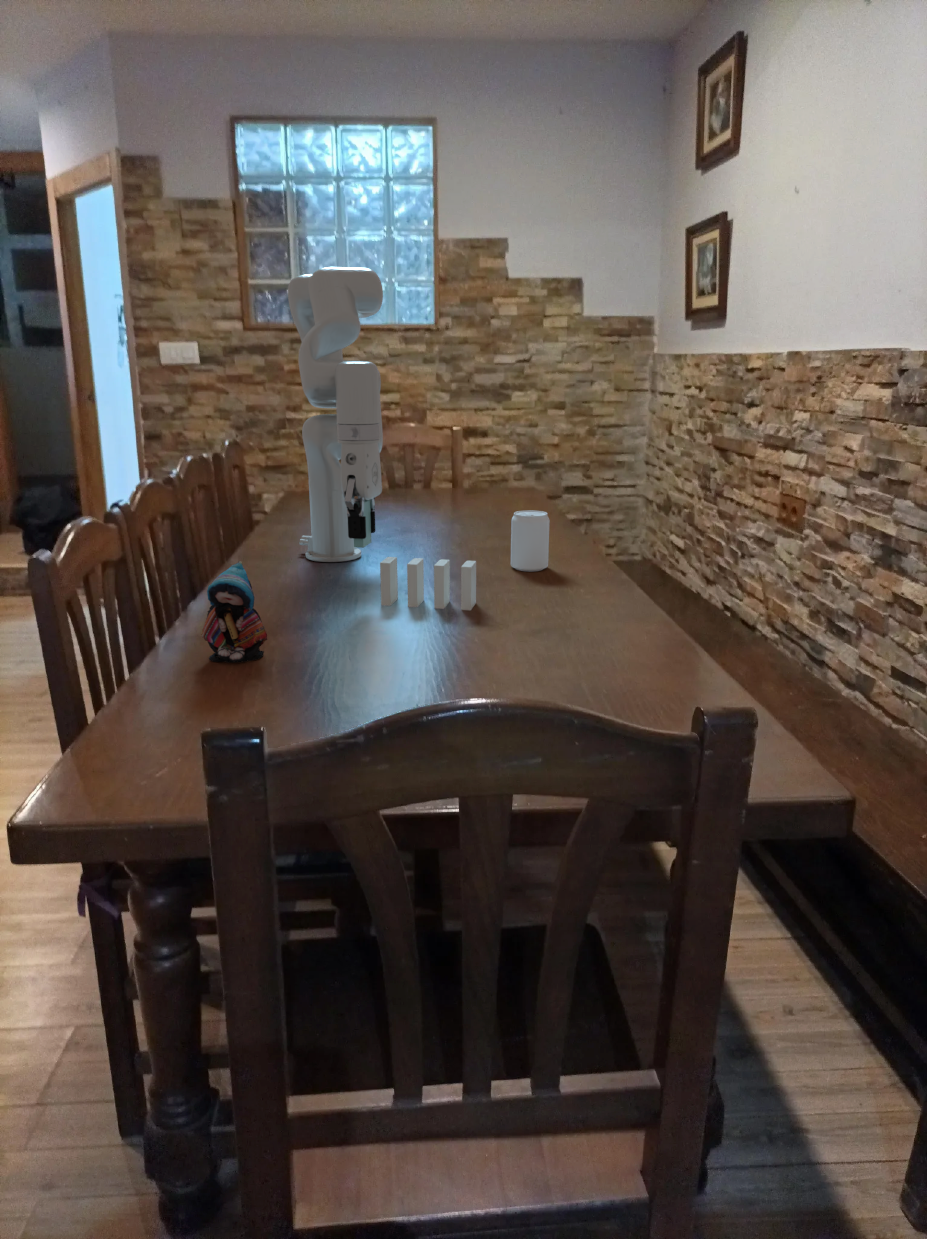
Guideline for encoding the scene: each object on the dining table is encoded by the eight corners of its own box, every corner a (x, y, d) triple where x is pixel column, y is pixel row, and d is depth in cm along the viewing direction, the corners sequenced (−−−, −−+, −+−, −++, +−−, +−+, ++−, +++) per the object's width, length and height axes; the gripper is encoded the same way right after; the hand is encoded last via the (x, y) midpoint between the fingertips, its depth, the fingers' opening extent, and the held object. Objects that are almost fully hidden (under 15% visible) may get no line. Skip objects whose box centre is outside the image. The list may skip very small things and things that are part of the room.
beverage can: (545, 573, 183) (547, 517, 179) (507, 571, 184) (508, 515, 181) (549, 564, 190) (551, 510, 187) (513, 563, 192) (514, 509, 188)
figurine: (196, 668, 127) (187, 568, 122) (210, 652, 133) (202, 557, 129) (264, 669, 126) (257, 569, 122) (275, 653, 133) (269, 558, 129)
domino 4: (434, 608, 157) (434, 565, 155) (440, 600, 162) (440, 559, 160) (444, 608, 157) (443, 565, 155) (449, 601, 162) (449, 559, 159)
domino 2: (381, 605, 159) (380, 562, 157) (388, 598, 164) (387, 556, 161) (390, 605, 159) (389, 563, 156) (397, 598, 163) (397, 557, 161)
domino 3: (407, 606, 158) (407, 564, 156) (414, 599, 163) (413, 558, 160) (417, 607, 158) (416, 564, 155) (423, 600, 162) (423, 558, 160)
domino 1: (353, 547, 157) (352, 503, 154) (362, 542, 161) (360, 499, 159) (363, 547, 156) (361, 503, 154) (371, 542, 161) (370, 499, 159)
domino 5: (461, 609, 156) (461, 566, 154) (466, 602, 161) (466, 560, 159) (470, 610, 156) (471, 567, 154) (475, 602, 161) (476, 561, 158)
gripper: (364, 438, 144) (368, 545, 150) (392, 430, 160) (394, 527, 166) (321, 437, 146) (326, 543, 151) (353, 430, 162) (356, 526, 167)
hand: (362, 534), depth 158 cm, fingers closed on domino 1, 4 cm apart
